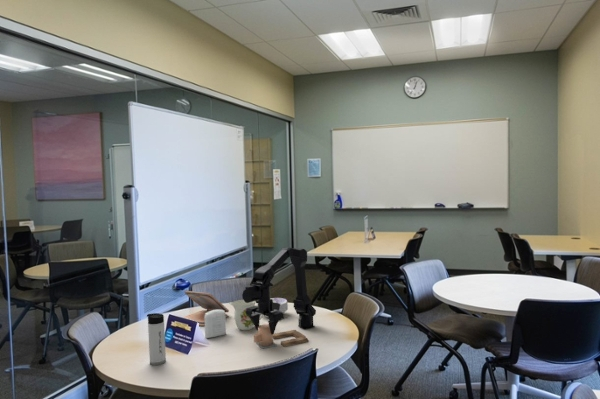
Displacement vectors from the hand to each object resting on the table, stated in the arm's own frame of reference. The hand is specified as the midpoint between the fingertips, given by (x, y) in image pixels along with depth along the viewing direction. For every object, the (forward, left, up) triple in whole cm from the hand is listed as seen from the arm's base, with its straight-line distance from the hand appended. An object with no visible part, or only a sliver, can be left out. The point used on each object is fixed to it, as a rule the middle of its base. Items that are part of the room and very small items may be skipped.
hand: (265, 332), depth 193 cm
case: (+16, -53, -6) cm, 55 cm away
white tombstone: (+17, -23, -6) cm, 29 cm away
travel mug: (+46, -4, -6) cm, 46 cm away
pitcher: (0, -26, -6) cm, 26 cm away
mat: (0, 0, -5) cm, 5 cm away
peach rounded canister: (+1, +1, -5) cm, 5 cm away
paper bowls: (-19, -38, -6) cm, 43 cm away
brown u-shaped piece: (-11, 0, -5) cm, 12 cm away
